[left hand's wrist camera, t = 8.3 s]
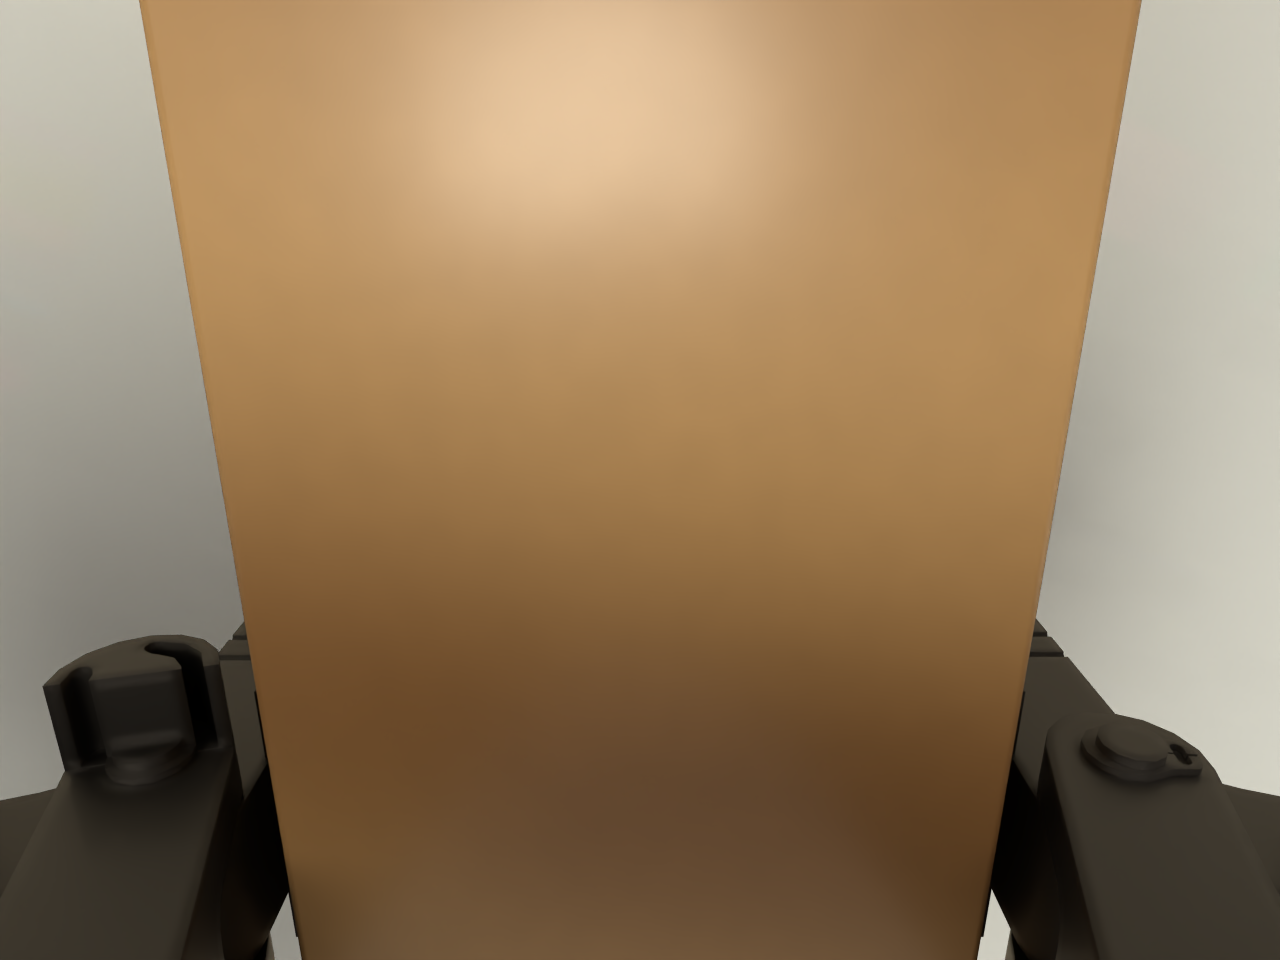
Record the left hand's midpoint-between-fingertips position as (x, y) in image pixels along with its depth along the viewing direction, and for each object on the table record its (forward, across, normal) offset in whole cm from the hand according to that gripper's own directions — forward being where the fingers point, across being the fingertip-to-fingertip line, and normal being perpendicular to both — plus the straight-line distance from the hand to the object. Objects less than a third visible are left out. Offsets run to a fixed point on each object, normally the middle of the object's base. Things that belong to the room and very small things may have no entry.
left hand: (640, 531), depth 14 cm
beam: (+1, 0, -21) cm, 21 cm away
